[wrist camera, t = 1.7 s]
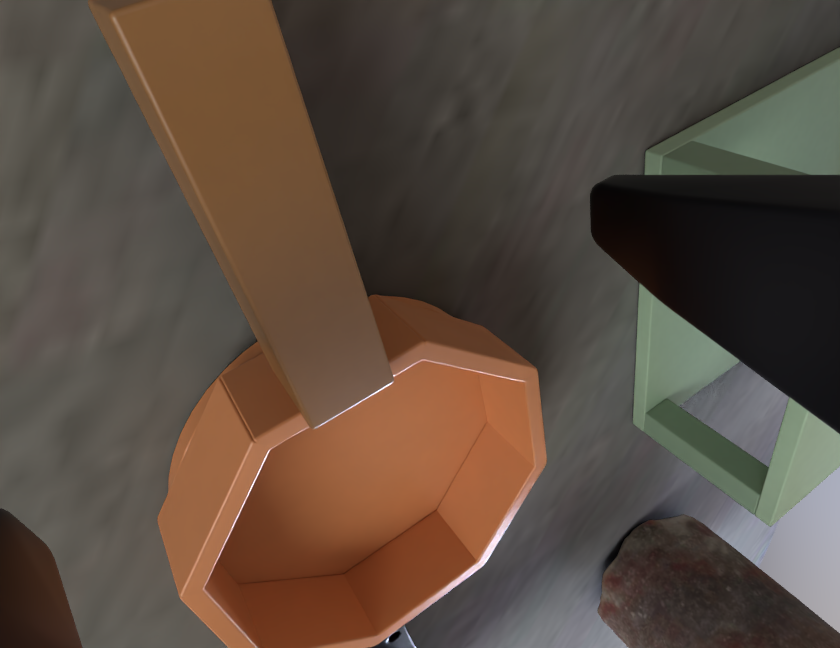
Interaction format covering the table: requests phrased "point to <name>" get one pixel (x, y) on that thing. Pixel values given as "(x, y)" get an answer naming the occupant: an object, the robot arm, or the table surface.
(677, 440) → the shelf
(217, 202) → the pan
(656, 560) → the candle
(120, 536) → the table surface
